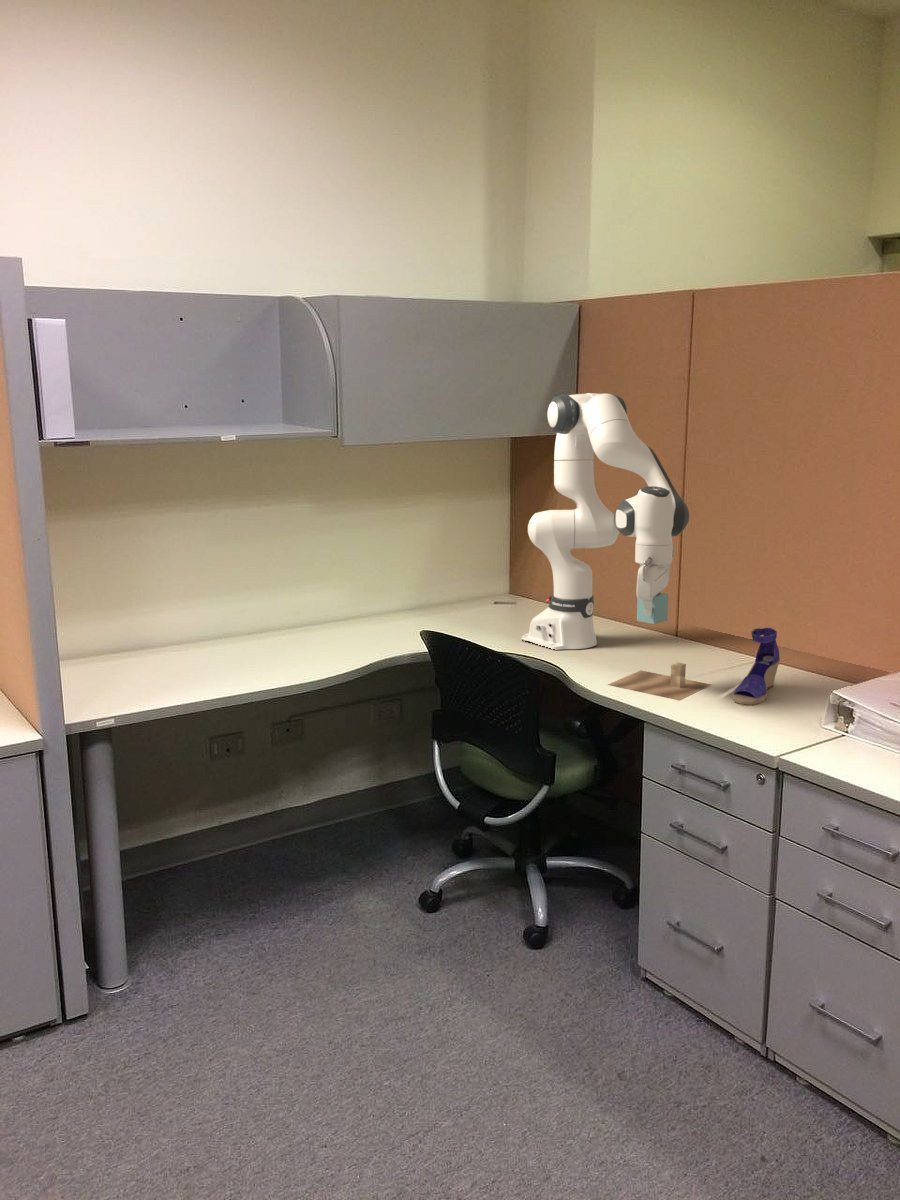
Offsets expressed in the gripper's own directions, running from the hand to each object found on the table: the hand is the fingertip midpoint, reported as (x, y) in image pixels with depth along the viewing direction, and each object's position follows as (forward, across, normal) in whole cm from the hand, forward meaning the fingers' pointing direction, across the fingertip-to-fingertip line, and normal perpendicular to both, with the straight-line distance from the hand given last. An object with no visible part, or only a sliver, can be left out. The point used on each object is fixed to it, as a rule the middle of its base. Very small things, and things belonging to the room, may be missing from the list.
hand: (652, 611), depth 244 cm
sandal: (+20, +4, -25) cm, 32 cm away
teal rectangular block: (+2, 0, 0) cm, 2 cm away
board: (+20, +1, -2) cm, 20 cm away
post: (+20, +2, -6) cm, 21 cm away
